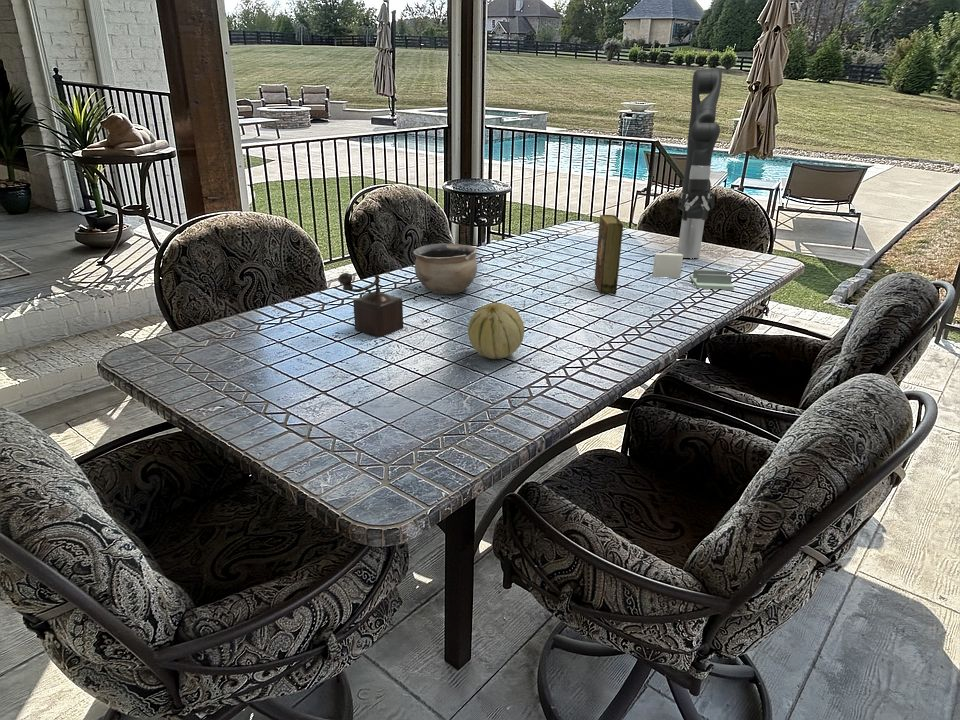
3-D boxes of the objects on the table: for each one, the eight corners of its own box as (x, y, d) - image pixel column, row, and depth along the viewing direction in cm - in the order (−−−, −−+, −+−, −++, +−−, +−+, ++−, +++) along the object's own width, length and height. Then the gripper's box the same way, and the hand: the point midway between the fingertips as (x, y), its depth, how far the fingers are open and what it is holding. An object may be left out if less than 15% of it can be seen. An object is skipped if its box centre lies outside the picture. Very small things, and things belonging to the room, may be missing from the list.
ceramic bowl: (469, 303, 212) (469, 258, 206) (406, 298, 216) (404, 254, 210) (482, 285, 232) (482, 244, 226) (424, 280, 236) (423, 240, 230)
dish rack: (689, 278, 244) (690, 267, 243) (723, 280, 243) (725, 268, 241) (696, 288, 231) (698, 276, 230) (733, 290, 230) (735, 278, 229)
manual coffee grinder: (377, 320, 194) (374, 262, 187) (404, 328, 188) (402, 268, 181) (339, 334, 183) (334, 273, 176) (366, 343, 177) (362, 280, 170)
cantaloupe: (520, 346, 176) (522, 294, 171) (525, 367, 163) (528, 311, 157) (467, 346, 176) (467, 293, 170) (467, 367, 162) (468, 311, 157)
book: (593, 282, 237) (599, 214, 228) (608, 282, 237) (614, 214, 228) (600, 295, 222) (607, 223, 213) (616, 295, 222) (623, 223, 212)
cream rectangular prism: (652, 275, 248) (655, 252, 244) (678, 276, 247) (681, 253, 243) (653, 277, 245) (656, 254, 242) (679, 278, 244) (683, 255, 241)
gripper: (710, 177, 252) (705, 218, 257) (677, 177, 248) (673, 219, 254) (721, 178, 245) (715, 221, 250) (688, 178, 242) (683, 221, 247)
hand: (694, 220), depth 252 cm, fingers open, 8 cm apart
